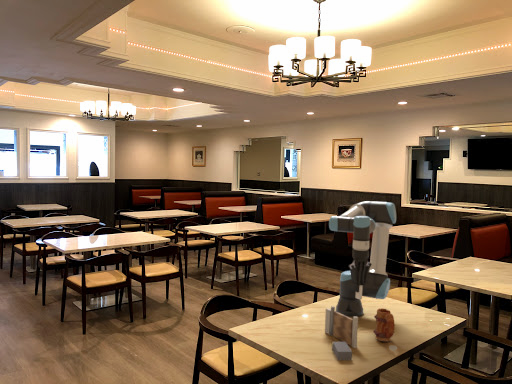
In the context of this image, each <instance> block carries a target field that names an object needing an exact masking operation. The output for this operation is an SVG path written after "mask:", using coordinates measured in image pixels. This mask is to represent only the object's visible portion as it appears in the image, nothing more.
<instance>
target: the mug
mask: <svg viewBox="0 0 512 384" xmlns="http://www.w3.org/2000/svg"><path fill="white" fill-rule="evenodd" d="M374 319H375V320H376V323H375V324H376V325H375V329H374V330H373V331H372V332H373V333H374V336H375V338H376V340H377V341H380V342H390V341H391V338H393V335H394V333H395V328H396V327H395V317H394V315H393V314H392V313H391V310H389V309H387V308H378V309H377V310H376V314H375V315H374Z"/></svg>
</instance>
